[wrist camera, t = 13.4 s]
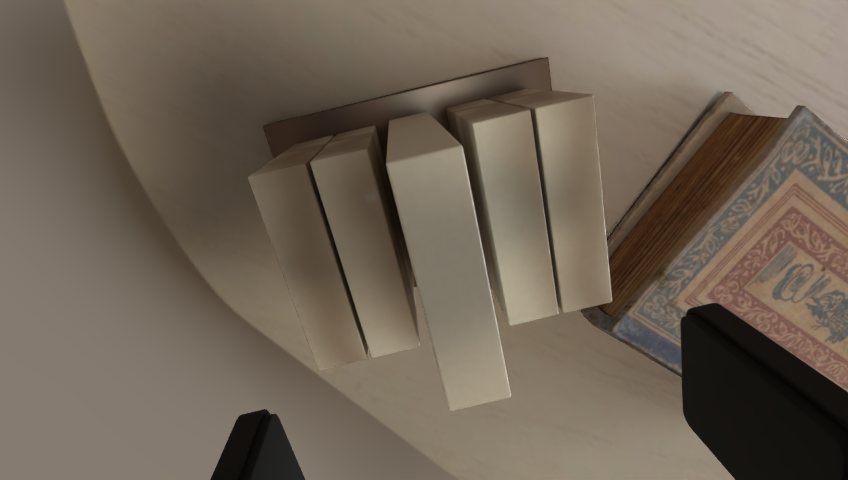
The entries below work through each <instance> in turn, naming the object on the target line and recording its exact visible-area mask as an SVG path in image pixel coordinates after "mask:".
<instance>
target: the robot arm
mask: <svg viewBox="0 0 848 480" xmlns="http://www.w3.org/2000/svg"><path fill="white" fill-rule="evenodd" d="M680 329H681V362H682V395H683V413H684V416H685V419H686V421H687V423H688V425H689V426H690V427H691V429H692V430H693V431H694V432H695V433H696V434H697V436H698V437H699V438H700V439H701V440H702V441H703V443H704V444H705V445H706V446H707V447H708V448H709V449H710V451H711V452H712V453H713V454H714V455H715V456H716V458H717V459H718V460H719V461H720V462H721V463H722V465H723V466H724V467H725V468H726V469H727V470H728V472H729V473H730V474H731V475H732V476H733V477H734V478H735V480H848V392H847V391H846V390H844V389H843V388H841V387H840V386H838V385H837V384H835V383H834V382H833V381H831V380H830V379H828V378H827V377H825V376H824V375H822V374H821V373H819V372H818V371H817V370H815V369H814V368H812V367H811V366H809V365H808V364H806V363H805V362H803V361H802V360H801V359H799V358H798V357H796V356H795V355H793V354H792V353H790V352H789V351H787V350H786V349H785V348H783V347H782V346H780V345H779V344H777V343H776V342H774V341H773V340H771V339H770V338H769V337H767V336H766V335H764V334H763V333H761V332H760V331H758V330H757V329H755V328H754V327H752V326H751V325H750V324H748V323H747V322H745V321H744V320H742V319H741V318H739V317H738V316H736V315H735V314H734V313H732V312H731V311H729V310H728V309H726V308H725V307H723V306H722V305H720V304H718V303H710V304H706V305H702V306H697V307H693V308H690V309H688V310H687V312H686V316H684V317H682V318H681V321H680ZM211 480H305V478H304V476H303V474H302V471H301V469H300V467H299V464H298V462H297V459H296V457H295V455H294V452H293V451H292V448H291V445H290V443H289V441H288V438H287V436H286V434H285V431H284V429H283V426H282V424H281V422H280V419H279V418H278V416H277V415H276V414H271V415H270V413H269V412H268V411H267V410H265V409H264V410H260V411H255V412H251V413H247V414H243V415H240V416H239V417H238V419H237V420H236V423H235V425H234V427H233V430H232V432H231V434H230V436H229V439H228V441H227V443H226V445H225V448H224V450H223V452H222V455H221V457H220V459H219V461H218V464H217V466H216V468H215V471H214V473H213V475H212V477H211Z"/></svg>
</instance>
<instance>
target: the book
mask: <svg viewBox="0 0 848 480" xmlns="http://www.w3.org/2000/svg"><path fill="white" fill-rule="evenodd" d="M607 250H608V261H609V272H610V283H611V294H612V302H610V303H605V304H601V305H597V306H593V307H588V308H584V309H580V310H581V312H582V313H583V315H584V317H585V318H586V319H587V320H588V321H589V322H591V323H592V324H593V325H594V326H596V327H597V328H599V329H601V330H602V331H604V332H606V333H607V334H609V335H611V336H612V337H614V338H616V339H618V340H619V341H621V342H623V343H624V344H626V345H628V346H629V347H631V348H633V349H634V350H636V351H638V352H640V353H641V354H643V355H645V356H646V357H648V358H650V359H651V360H653V361H655V362H656V363H658V364H660V365H661V366H663V367H665V368H667V369H668V370H670V371H672V372H673V373H675V374H677V375H678V376H680V377H682V362H681V329H680V321H681V318H682V317H684V316H686V312H687V310H688V309H690V308H693V307H697V306H702V305H706V304H710V303H718V304H720V305H722V306H723V307H725V308H726V309H728V310H729V311H731V312H732V313H734V314H735V315H736V316H738V317H739V318H741V319H742V320H744V321H745V322H747V323H748V324H750V325H751V326H752V327H754V328H755V329H757V330H758V331H760V332H761V333H763V334H764V335H766V336H767V337H769V338H770V339H771V340H773V341H774V342H776V343H777V344H779V345H780V346H782V347H783V348H785V349H786V350H787V351H789V352H790V353H792V354H793V355H795V356H796V357H798V358H799V359H801V360H802V361H803V362H805V363H806V364H808V365H809V366H811V367H812V368H814V369H815V370H817V371H818V372H819V373H821V374H822V375H824V376H825V377H827V378H828V379H830V380H831V381H833V382H834V383H835V384H837V385H838V386H840V387H841V388H843V389H844V390H846V391H847V392H848V143H847V142H846V141H845V140H844V139H843V138H841V137H840V136H839V135H838V134H837V133H836V132H834V131H833V130H832V129H831V128H830V127H829V126H828V125H826V124H825V123H824V122H823V121H822V120H821V119H819V118H818V117H817V116H816V115H815V114H814V113H813V112H811V111H810V110H809V109H808V108H807V107H806V106H800V105H798V106H796V108H795V109H794V111H793V112H792V113H791V115H790V116H789V117H788V118H776V117H766V116H759V115H758V114H756V113H755V112H754V111H753V110H752V109H751V108H749V107H748V106H747V105H746V104H745V103H744V102H743V101H741V100H740V99H739V98H738V97H737V96H736V95H734V94H733V93H732V92H724V94H723V95H722V96H721V97H720V98H719V99H718V101H717V102H716V103H715V104H714V105H713V106H712V108H711V109H710V110H709V111H708V112H707V113H706V115H705V116H704V117H703V118H702V119H701V121H700V122H699V123H698V124H697V126H696V127H695V128H694V129H693V131H692V132H691V133H690V134H689V136H688V137H687V138H686V140H685V141H684V142H683V143H682V145H681V146H680V147H679V148H678V150H677V151H676V152H675V153H674V155H673V156H672V157H671V158H670V160H669V161H668V162H667V163H666V165H665V166H664V167H663V169H662V170H661V171H660V172H659V174H658V175H657V176H656V177H655V179H654V180H653V181H652V182H651V184H650V185H649V186H648V187H647V189H646V190H645V191H644V193H643V194H642V195H641V196H640V198H639V199H638V200H637V201H636V203H635V204H634V205H633V206H632V208H631V209H630V210H629V211H628V213H627V214H626V215H625V217H624V218H623V219H622V221H621V222H620V224H619V225H618V226H617V228H616V229H615V230H614V232H613V233H612V235H611V236H610V237H609V239H608V240H607Z"/></svg>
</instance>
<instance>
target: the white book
mask: <svg viewBox="0 0 848 480" xmlns="http://www.w3.org/2000/svg"><path fill="white" fill-rule="evenodd" d="M386 167H387V171H388V175H389V179H390V183H391V187H392V190H393V194H394V198H395V202H396V206H397V210H398V214H399V218H400V222H401V226H402V229H403V233H404V237H405V241H406V245H407V249H408V253H409V257H410V261H411V264H412V268H413V272H414V276H415V280H416V284H417V288H418V292H419V296H420V299H421V303H422V307H423V311H424V315H425V319H426V323H427V327H428V331H429V334H430V338H431V342H432V346H433V350H434V354H435V358H436V362H437V366H438V369H439V373H440V377H441V381H442V385H443V389H444V393H445V397H446V401H447V404H448V408H449V410H450V411H453V410H458V409H462V408H466V407H471V406H475V405H479V404H484V403H488V402H492V401H497V400H501V399H505V398H510V397H511V391H510V386H509V381H508V376H507V371H506V366H505V361H504V356H503V350H502V345H501V340H500V335H499V330H498V325H497V320H496V314H495V309H494V304H493V299H492V294H491V289H490V284H489V279H488V273H487V268H486V263H485V258H484V253H483V248H482V243H481V237H480V232H479V227H478V222H477V217H476V212H475V207H474V202H473V196H472V191H471V186H470V181H469V176H468V171H467V166H466V160H465V155H464V150H463V146H462V145H461V144H460V143H459V142H458V141H457V140H456V139H455V138H454V137H453V136H452V135H451V134H450V133H449V132H448V131H447V130H446V129H445V128H444V127H443V126H441V125H440V124H439V123H438V122H437V121H436V120H435V119H434V118H433V117H432V116H431V115H430V114H429V113H428V112H423V113H418V114H414V115H410V116H406V117H402V118H398V119H393V120H390V121H389V129H388V144H387V158H386Z"/></svg>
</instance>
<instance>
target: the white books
mask: <svg viewBox="0 0 848 480" xmlns="http://www.w3.org/2000/svg"><path fill="white" fill-rule="evenodd" d="M423 112H428V113H429V114H430V115H431V116H432V117H433V118H434V119H435V120H436V121H437V122H438V123H439V124H440V125H441V126H443V127H444V128H445V129H446V130H447V131H448V132H449V133H450V134H451V135H452V136H453V137H454V138H455V139H456V140H457V141H458V142H459V143H460V144H461V145H462V146H463V150H464V155H465V160H466V166H467V171H468V176H469V181H470V186H471V191H472V196H473V202H474V207H475V212H476V217H477V222H478V227H479V232H480V237H481V243H482V248H483V253H484V258H485V263H486V268H487V273H488V279H489V283H490V286H491V288H492V290H493V292H494V294H495V296H496V298H497V300H498V302H499V305H500V307H501V309H502V311H503V313H504V315H505V317H506V319H507V322H508V324H509V325H510V326H512V325H516V324H520V323H524V322H529V321H533V320H537V319H542V318H546V317H550V316H555V315H558V314H559V313H558V307H559V308H560V309H561V311H562V312H563V313H567V312H571V311H575V310H580V309H584V308H588V307H593V306H597V305H601V304H605V303H610V302H612V294H611V283H610V272H609V261H608V250H607V239H606V228H605V217H604V206H603V196H602V185H601V174H600V163H599V152H598V141H597V130H596V119H595V108H594V98H593V94H583V93H571V92H559V91H552V86H551V78H550V70H549V62H548V57H546V58H540V59H536V60H532V61H528V62H524V63H519V64H515V65H511V66H507V67H503V68H499V69H495V70H490V71H486V72H482V73H478V74H474V75H470V76H466V77H461V78H457V79H453V80H449V81H445V82H441V83H437V84H432V85H428V86H424V87H420V88H416V89H412V90H407V91H403V92H399V93H395V94H391V95H387V96H383V97H378V98H374V99H370V100H366V101H362V102H358V103H354V104H349V105H345V106H341V107H337V108H333V109H329V110H325V111H320V112H316V113H312V114H308V115H304V116H300V117H296V118H291V119H287V120H283V121H279V122H275V123H271V124H267V125H264V126H263V128H264V131H265V134H266V137H267V140H268V143H269V146H270V149H271V152H272V154H273V157H274V159H273V160H272V161H270V162H269V163H267V164H266V165H264V166H263V167H262V168H260V169H259V170H257V171H256V172H254V173H253V174H251V175H250V176H249V177H248V180H249V183H250V185H251V188H252V191H253V194H254V196H255V199H256V202H257V205H258V207H259V210H260V213H261V215H262V218H263V221H264V224H265V226H266V229H267V232H268V234H269V237H270V240H271V243H272V245H273V248H274V251H275V253H276V256H277V259H278V262H279V264H280V267H281V270H282V273H283V275H284V278H285V281H286V283H287V286H288V289H289V292H290V294H291V297H292V300H293V302H294V305H295V308H296V311H297V313H298V316H299V319H300V321H301V324H302V327H303V330H304V332H305V335H306V338H307V341H308V343H309V346H310V349H311V351H312V354H313V357H314V360H315V362H316V365H317V368H318V370H323V369H327V368H332V367H336V366H340V365H345V364H349V363H353V362H358V361H362V360H366V359H367V354H368V349H369V352H370V355H371V357H372V358H374V357H378V356H383V355H387V354H391V353H395V352H400V351H404V350H408V349H413V348H417V347H420V339H419V330H418V320H417V311H416V301H415V292H414V287H416V286H417V284H416V280H415V276H414V272H413V268H412V264H411V261H410V257H409V253H408V249H407V245H406V241H405V237H404V233H403V229H402V226H401V222H400V218H399V214H398V210H397V206H396V202H395V198H394V194H393V190H392V187H391V183H390V179H389V175H388V171H387V167H386V158H387V144H388V129H389V121H390V120H393V119H398V118H402V117H406V116H410V115H414V114H418V113H423ZM557 305H558V306H557Z"/></svg>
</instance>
